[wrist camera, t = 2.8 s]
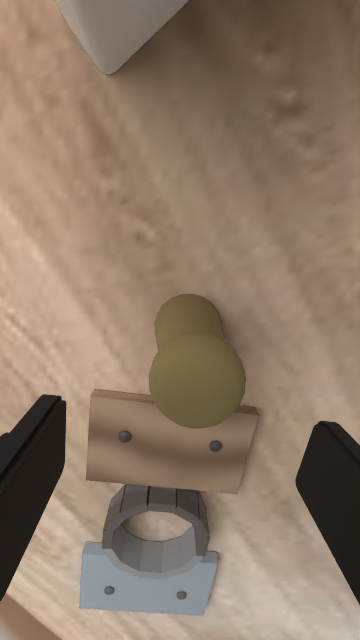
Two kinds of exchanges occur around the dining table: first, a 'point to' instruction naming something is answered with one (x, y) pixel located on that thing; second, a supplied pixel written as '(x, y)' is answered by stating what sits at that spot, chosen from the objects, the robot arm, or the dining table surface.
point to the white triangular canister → (116, 26)
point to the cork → (194, 365)
